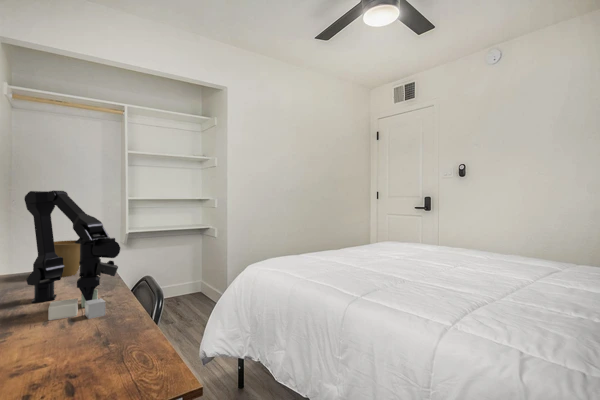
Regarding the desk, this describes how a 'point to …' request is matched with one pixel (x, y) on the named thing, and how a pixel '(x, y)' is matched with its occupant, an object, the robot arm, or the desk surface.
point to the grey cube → (94, 308)
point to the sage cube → (95, 296)
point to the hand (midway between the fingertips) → (89, 301)
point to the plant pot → (68, 256)
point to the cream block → (63, 309)
